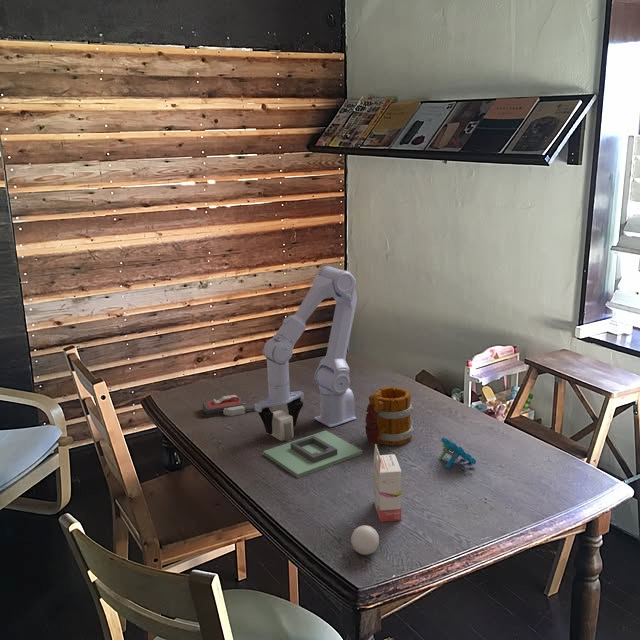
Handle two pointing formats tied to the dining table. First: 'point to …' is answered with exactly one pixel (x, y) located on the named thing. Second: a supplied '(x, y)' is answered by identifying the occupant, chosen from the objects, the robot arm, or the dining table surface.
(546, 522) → the dining table surface
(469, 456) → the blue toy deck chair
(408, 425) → the mug
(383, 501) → the ink cartridge box
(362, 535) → the white egg
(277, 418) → the plug
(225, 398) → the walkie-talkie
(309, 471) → the board
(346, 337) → the robot arm
